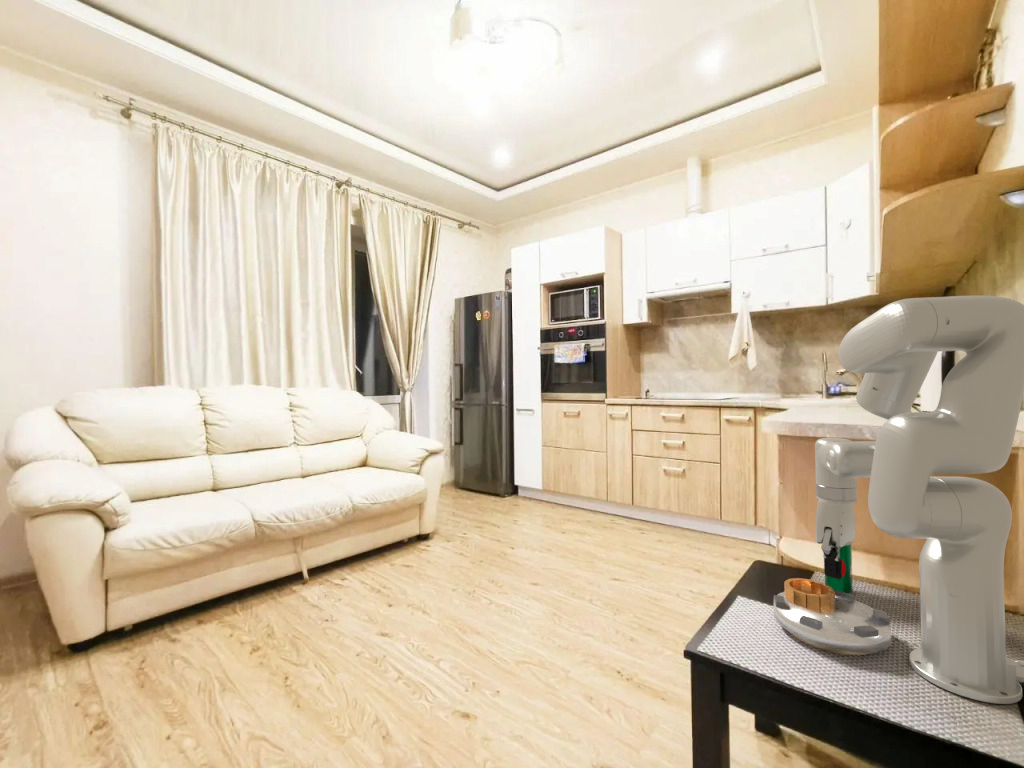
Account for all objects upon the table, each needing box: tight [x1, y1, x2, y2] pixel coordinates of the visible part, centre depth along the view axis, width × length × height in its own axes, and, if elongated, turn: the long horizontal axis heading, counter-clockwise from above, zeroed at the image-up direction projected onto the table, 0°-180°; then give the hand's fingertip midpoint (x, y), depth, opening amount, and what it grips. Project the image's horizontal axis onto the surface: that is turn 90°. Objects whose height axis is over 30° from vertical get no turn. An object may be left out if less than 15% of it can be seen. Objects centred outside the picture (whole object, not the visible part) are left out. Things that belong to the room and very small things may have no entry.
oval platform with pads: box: [773, 577, 892, 653], centre depth 85 cm, size 18×18×5 cm
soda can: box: [824, 540, 854, 594], centre depth 102 cm, size 5×5×12 cm
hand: (838, 572), depth 102 cm, fingers closed on soda can, 5 cm apart
